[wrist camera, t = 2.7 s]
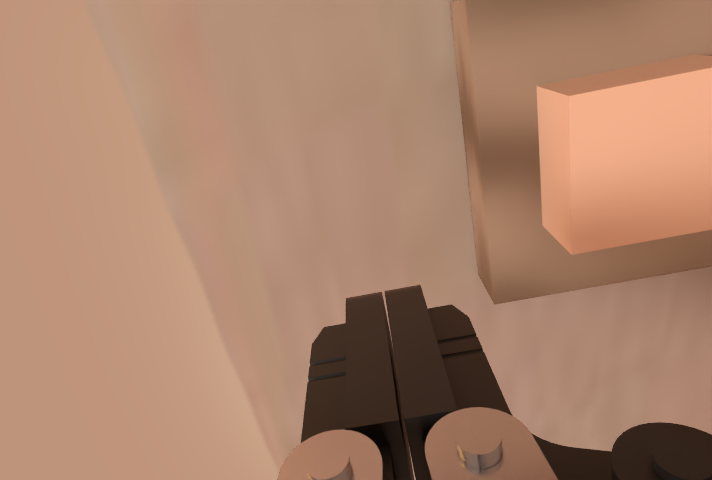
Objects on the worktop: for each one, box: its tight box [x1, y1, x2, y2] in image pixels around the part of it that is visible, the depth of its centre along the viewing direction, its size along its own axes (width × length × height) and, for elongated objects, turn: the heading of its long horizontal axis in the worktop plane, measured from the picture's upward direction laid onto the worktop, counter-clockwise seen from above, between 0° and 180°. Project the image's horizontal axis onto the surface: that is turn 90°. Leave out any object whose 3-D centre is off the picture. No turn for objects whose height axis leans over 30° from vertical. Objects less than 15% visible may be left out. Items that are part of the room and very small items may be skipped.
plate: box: [450, 0, 712, 304], centre depth 18 cm, size 11×17×2 cm, turn 101°
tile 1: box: [537, 55, 712, 255], centre depth 16 cm, size 5×5×2 cm
